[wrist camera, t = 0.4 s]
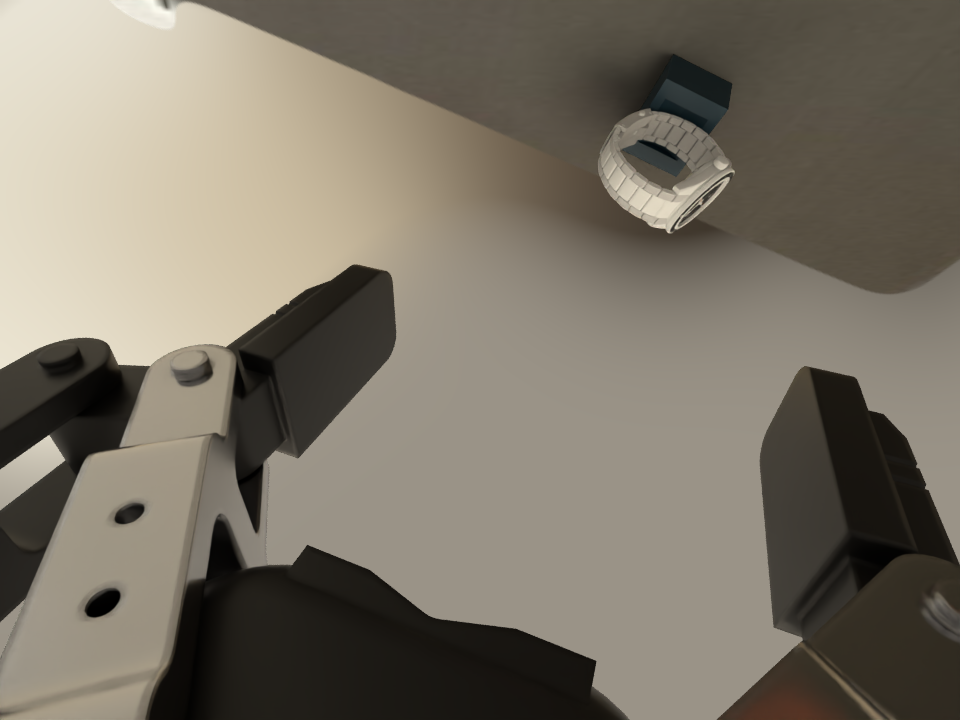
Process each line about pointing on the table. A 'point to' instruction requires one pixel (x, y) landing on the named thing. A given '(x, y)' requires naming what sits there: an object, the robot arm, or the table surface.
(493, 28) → the table surface
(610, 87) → the table surface
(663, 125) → the watch
